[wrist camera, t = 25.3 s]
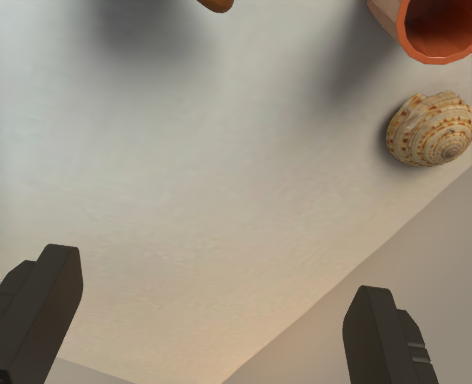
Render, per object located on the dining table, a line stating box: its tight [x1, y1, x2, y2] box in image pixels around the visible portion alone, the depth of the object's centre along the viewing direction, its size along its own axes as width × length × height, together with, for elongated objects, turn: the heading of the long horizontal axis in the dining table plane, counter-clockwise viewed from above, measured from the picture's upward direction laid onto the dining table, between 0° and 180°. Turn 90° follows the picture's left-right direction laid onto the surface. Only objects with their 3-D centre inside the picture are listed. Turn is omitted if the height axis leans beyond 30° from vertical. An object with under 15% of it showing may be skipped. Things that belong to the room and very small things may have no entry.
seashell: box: [386, 91, 472, 167], centre depth 40 cm, size 8×6×8 cm
